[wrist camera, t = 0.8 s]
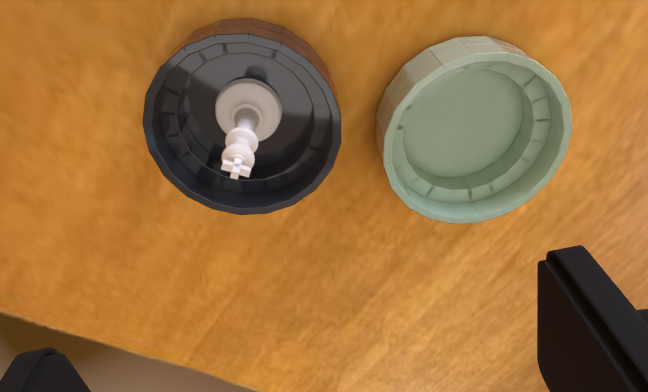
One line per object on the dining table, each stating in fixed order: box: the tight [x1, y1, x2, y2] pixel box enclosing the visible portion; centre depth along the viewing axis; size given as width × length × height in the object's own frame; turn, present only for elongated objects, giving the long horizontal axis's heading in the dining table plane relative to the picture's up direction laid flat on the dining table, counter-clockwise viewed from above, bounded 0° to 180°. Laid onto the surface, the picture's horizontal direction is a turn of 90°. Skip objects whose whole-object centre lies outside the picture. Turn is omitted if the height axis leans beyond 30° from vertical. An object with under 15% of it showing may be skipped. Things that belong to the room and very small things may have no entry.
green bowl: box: [375, 36, 572, 224], centre depth 37 cm, size 13×13×4 cm
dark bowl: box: [143, 18, 341, 215], centre depth 35 cm, size 13×13×4 cm
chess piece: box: [215, 78, 282, 180], centre depth 33 cm, size 5×5×10 cm
